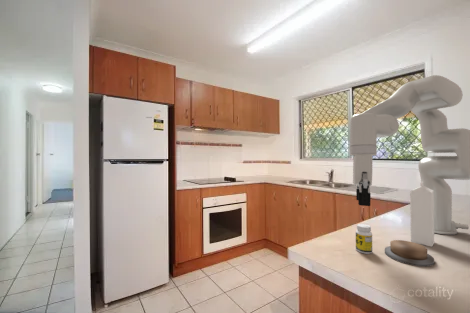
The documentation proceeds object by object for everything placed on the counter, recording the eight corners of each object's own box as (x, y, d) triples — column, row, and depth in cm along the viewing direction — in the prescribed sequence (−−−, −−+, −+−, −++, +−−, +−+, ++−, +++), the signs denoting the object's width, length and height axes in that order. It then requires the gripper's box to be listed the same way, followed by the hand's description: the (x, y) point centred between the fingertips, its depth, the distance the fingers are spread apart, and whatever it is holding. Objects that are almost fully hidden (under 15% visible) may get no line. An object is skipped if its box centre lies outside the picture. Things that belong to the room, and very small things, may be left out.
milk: (434, 242, 80) (434, 182, 80) (432, 247, 75) (432, 183, 76) (413, 238, 84) (413, 180, 84) (410, 242, 80) (410, 181, 80)
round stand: (426, 252, 71) (426, 242, 71) (441, 269, 60) (441, 257, 60) (381, 246, 76) (381, 236, 76) (388, 261, 65) (388, 249, 65)
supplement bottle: (352, 248, 74) (352, 223, 74) (365, 247, 75) (365, 223, 75) (361, 254, 70) (361, 228, 70) (375, 253, 70) (375, 227, 70)
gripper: (349, 152, 82) (349, 197, 82) (351, 150, 66) (351, 206, 66) (372, 152, 79) (372, 199, 78) (380, 149, 63) (380, 209, 63)
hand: (362, 202), depth 72 cm, fingers open, 9 cm apart
